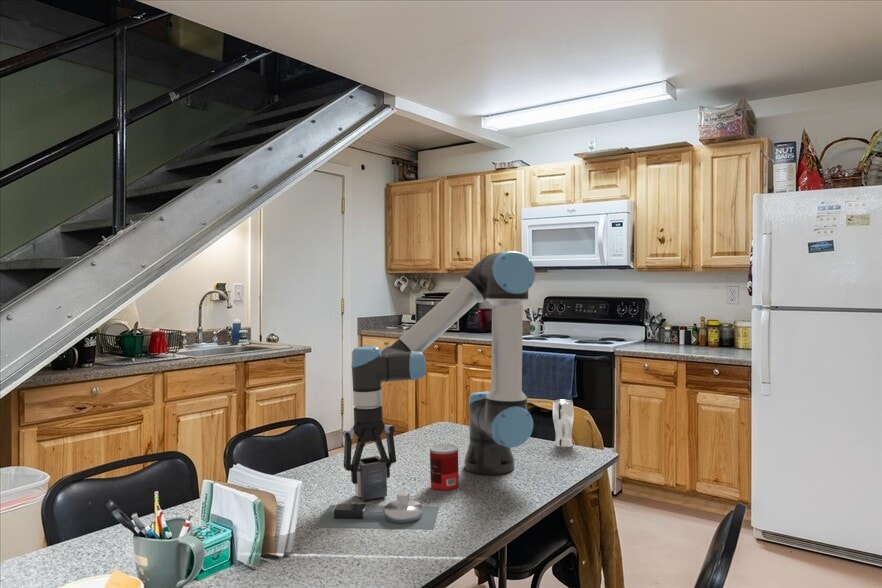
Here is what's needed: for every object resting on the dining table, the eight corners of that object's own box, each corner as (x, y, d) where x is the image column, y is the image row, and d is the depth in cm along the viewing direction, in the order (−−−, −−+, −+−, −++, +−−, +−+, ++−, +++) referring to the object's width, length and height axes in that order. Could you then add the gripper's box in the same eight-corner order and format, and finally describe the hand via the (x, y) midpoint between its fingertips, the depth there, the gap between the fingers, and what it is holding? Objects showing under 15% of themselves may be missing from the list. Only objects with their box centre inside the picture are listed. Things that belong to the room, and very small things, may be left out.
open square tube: (379, 488, 161) (377, 455, 160) (387, 496, 155) (385, 461, 154) (356, 492, 158) (354, 459, 158) (363, 500, 152) (361, 465, 152)
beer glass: (576, 447, 199) (575, 403, 199) (555, 448, 199) (554, 403, 199) (571, 442, 206) (571, 399, 206) (551, 442, 206) (550, 399, 206)
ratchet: (424, 509, 146) (423, 487, 146) (419, 524, 137) (419, 500, 137) (339, 508, 148) (338, 486, 148) (328, 523, 139) (328, 499, 139)
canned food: (462, 483, 166) (461, 444, 166) (453, 493, 158) (452, 452, 158) (436, 481, 168) (435, 443, 168) (426, 491, 161) (425, 450, 161)
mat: (439, 507, 148) (439, 506, 148) (433, 531, 134) (433, 529, 134) (330, 506, 151) (330, 504, 151) (313, 529, 137) (313, 527, 137)
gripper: (397, 399, 163) (400, 482, 164) (328, 407, 155) (331, 495, 156) (407, 403, 156) (410, 490, 157) (335, 413, 148) (339, 504, 149)
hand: (371, 492), depth 156 cm, fingers closed on open square tube, 6 cm apart
